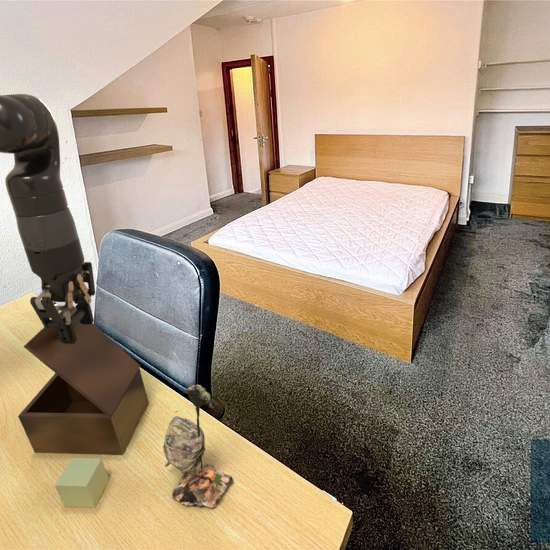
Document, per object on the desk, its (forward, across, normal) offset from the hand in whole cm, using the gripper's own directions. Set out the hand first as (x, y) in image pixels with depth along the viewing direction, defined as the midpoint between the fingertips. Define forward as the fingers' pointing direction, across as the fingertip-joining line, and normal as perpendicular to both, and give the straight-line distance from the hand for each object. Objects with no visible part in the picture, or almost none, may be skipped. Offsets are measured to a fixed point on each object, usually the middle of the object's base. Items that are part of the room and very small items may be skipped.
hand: (79, 332), depth 69 cm
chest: (+22, 0, -2) cm, 22 cm away
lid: (+5, 0, 0) cm, 5 cm away
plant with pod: (+21, +12, +21) cm, 32 cm away
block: (+22, +14, +3) cm, 26 cm away
